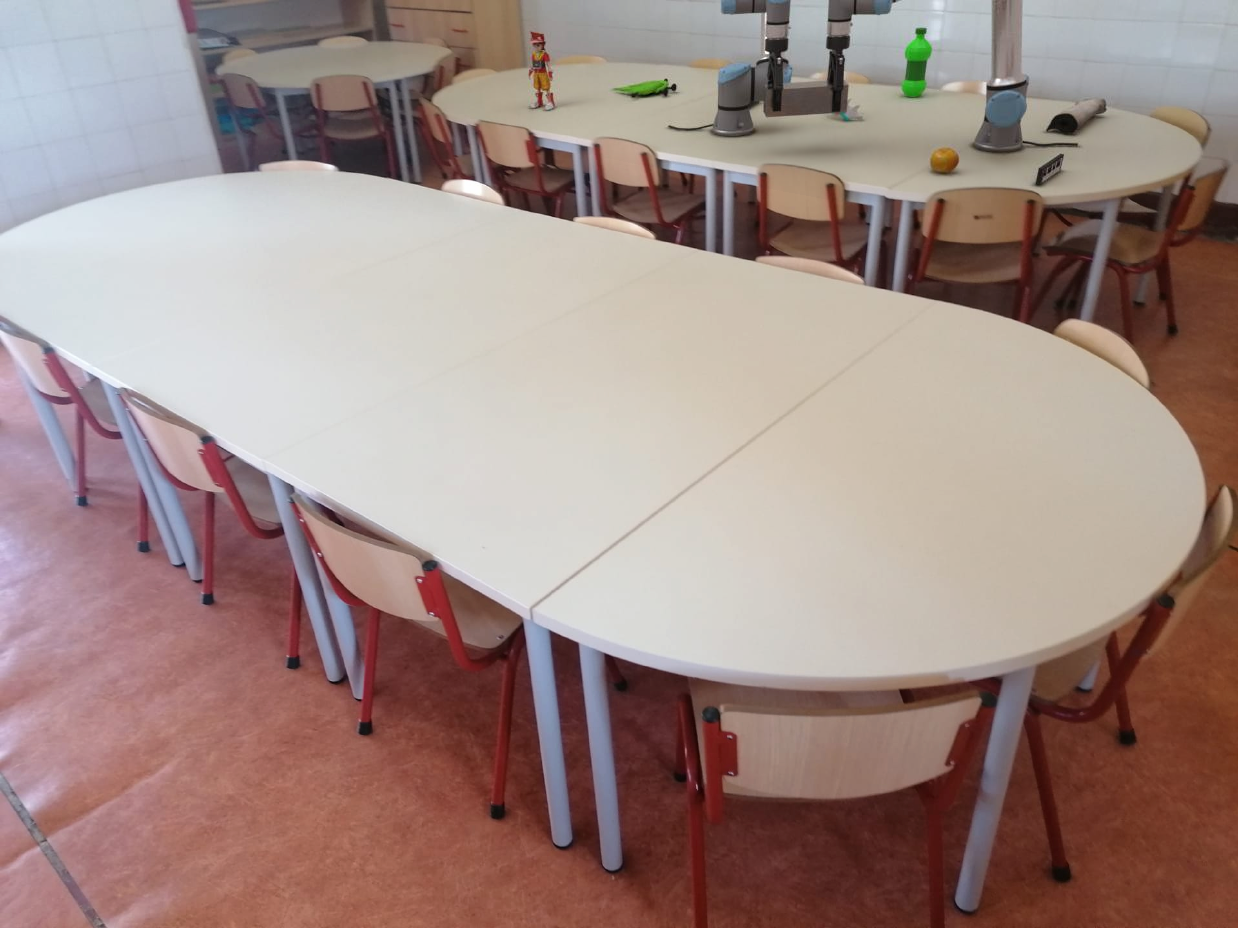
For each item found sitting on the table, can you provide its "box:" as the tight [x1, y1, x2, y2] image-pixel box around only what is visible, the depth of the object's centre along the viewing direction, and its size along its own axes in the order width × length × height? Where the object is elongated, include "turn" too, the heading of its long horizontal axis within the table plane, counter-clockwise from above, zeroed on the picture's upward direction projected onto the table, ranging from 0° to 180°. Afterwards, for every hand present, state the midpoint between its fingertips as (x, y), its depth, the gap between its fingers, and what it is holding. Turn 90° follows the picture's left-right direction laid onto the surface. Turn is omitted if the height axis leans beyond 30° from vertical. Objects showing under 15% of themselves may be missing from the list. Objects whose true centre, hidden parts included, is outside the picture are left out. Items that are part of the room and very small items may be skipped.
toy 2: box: [612, 78, 677, 99], centre depth 396 cm, size 28×5×30 cm
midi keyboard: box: [1035, 153, 1065, 186], centre depth 273 cm, size 18×1×5 cm, turn 138°
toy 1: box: [527, 31, 556, 111], centre depth 374 cm, size 12×9×30 cm
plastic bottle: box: [901, 27, 933, 98], centre depth 359 cm, size 10×10×25 cm
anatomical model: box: [840, 98, 864, 121], centre depth 343 cm, size 15×10×10 cm
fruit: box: [929, 147, 960, 174], centre depth 283 cm, size 8×8×8 cm
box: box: [762, 79, 850, 118], centre depth 301 cm, size 27×8×9 cm, turn 89°
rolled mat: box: [1045, 97, 1108, 135], centre depth 319 cm, size 30×9×10 cm
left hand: (773, 106), depth 303 cm, fingers open, 13 cm apart
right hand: (833, 108), depth 303 cm, fingers closed on box, 8 cm apart
